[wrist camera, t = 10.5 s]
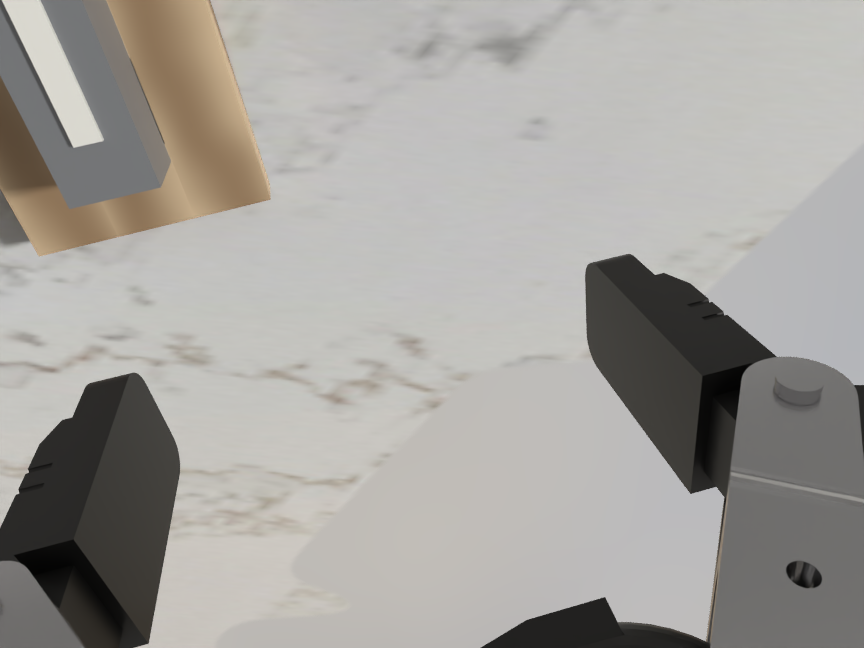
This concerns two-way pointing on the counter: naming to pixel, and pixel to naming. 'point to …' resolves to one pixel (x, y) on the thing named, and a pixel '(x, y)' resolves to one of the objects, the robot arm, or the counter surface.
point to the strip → (80, 98)
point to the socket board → (180, 130)
